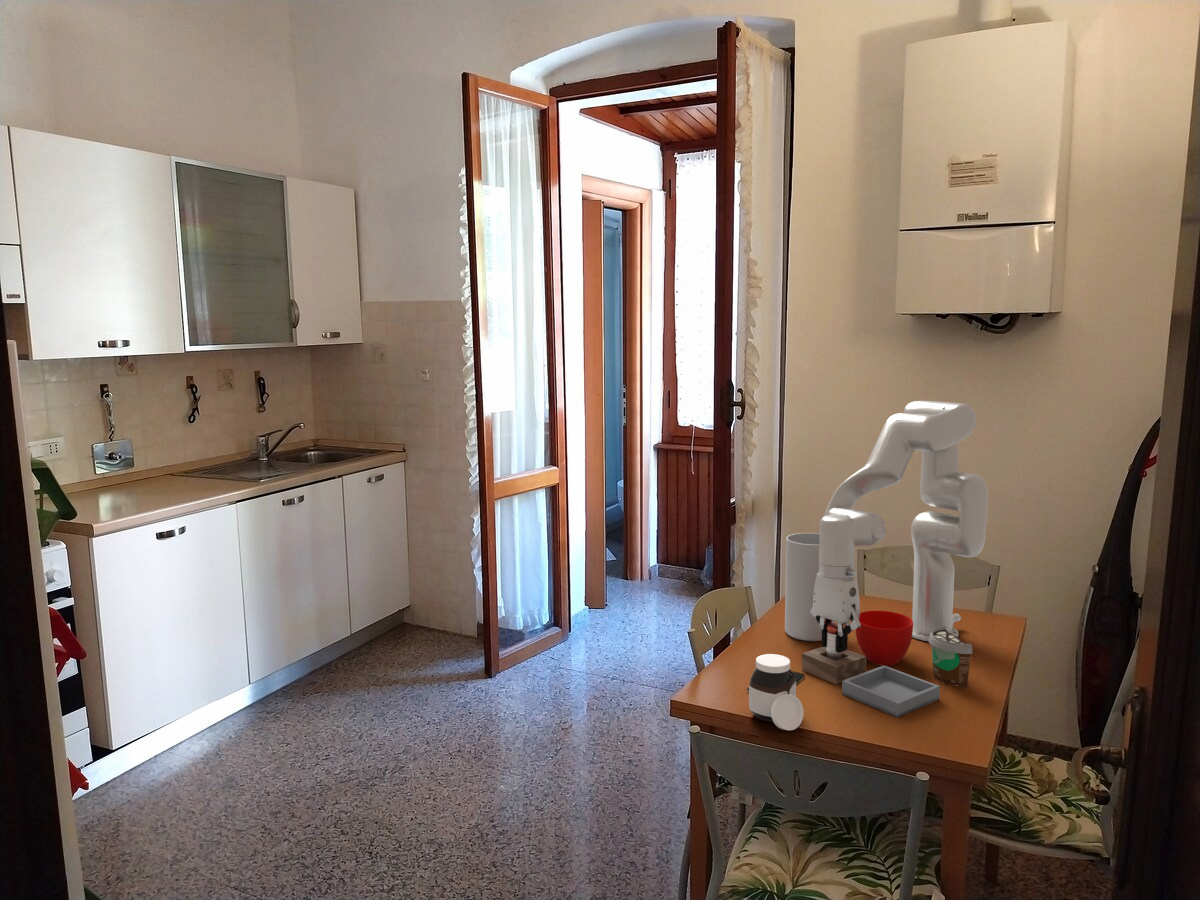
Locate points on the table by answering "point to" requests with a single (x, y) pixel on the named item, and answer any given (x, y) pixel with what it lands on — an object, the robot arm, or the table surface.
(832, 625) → the steel pin
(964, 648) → the food container
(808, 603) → the cylinder vase
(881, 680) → the slate tray
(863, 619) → the red bowl
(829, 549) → the robot arm
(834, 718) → the table surface
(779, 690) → the jar and lid
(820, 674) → the walnut socket block
